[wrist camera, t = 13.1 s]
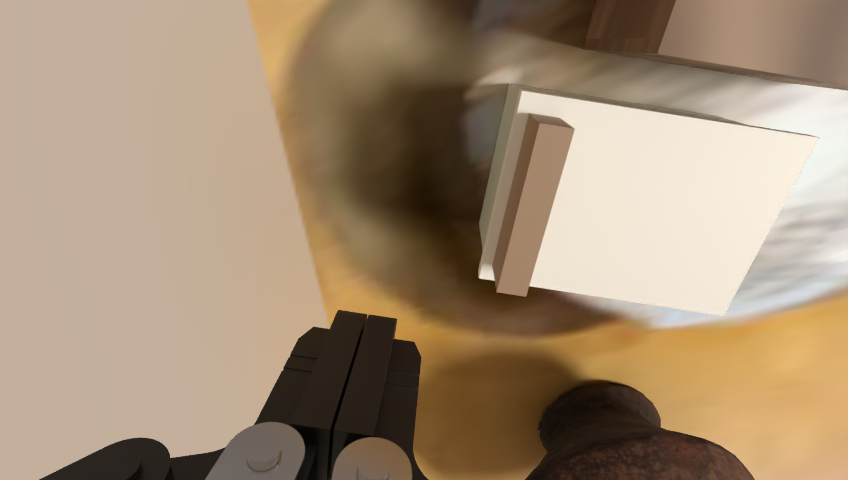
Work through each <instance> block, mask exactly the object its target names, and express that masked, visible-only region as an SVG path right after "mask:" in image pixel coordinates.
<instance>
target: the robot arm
mask: <svg viewBox="0 0 848 480" xmlns="http://www.w3.org/2000/svg"><path fill="white" fill-rule="evenodd" d="M396 324H397V319H395V318H389V317H382V316H375V315H369V316H368V319H367V314H362V313H355V312H349V311H342V310H338V312H337V313H336V316H335V318H334V321H333V323H332V325H331V328H330V329H325V328H318V327H313V328H312V329H310V330H309V331H308V332H307V333H305V334H304V335H303V336H301V337H300V338H299V339H298V341H297V343H296V345H295V347H294V349H293V350H292V352H291V355H290V357H289V358H288V360H287V362H286V364H285V366H284V370H283V371H282V372H281V374H280V376H279V378H278V380H277V382H276V384H275V386H274V388H273V389H272V391H271V393H270V395H269V397H268V399H267V401H266V403H265V405H264V407H263V409H262V411H261V413H260V415H259V417H258V419H257V421H256V422H255V424H254V425H253V426H251V427H249V428H247V429H245V430H243V431H241V432H240V433H239V434H237V435H236V436H235V437H234V438H233V439H232V440H231V441H230V442H229V444H228V445H227V446H226V447H225V448H223V449H220V450H217V451H214V452H209V453H203V454H196V455H189V456H182V457H176V458H170V454H169V452H168V449H167V448H166V447H165V446H164V445H163V444H162V443H160V442H158V441H156V440H154V439H149V438H133V439H127V440H122V441H120V442H116V443H114V444H111V445H109V446H107V447H105V448H103V449H101V450H98V451H96V452H94V453H92V454H91V455H88V456H86V457H84V458H82V459H80V460H79V461H76V462H74V463H72V464H70V465H68V466H66V467H64V468H62V469H60V470H58V471H56V472H54V473H52V474H50V475H48V476H46V477H44V478H42V479H40V480H428V479H427V478H426V477H425V476H424V475H423V473H422V472H421V471H420V469H419V467H418V466H417V464H416V461H415V458H414V454H413V438H414V428H415V417H416V407H417V396H418V386H419V375H420V365H421V356H420V354H419V351H418V349H417V347H416V345H415V342H411V341H404V340H398V339H394V338H395V331H396Z"/></svg>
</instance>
